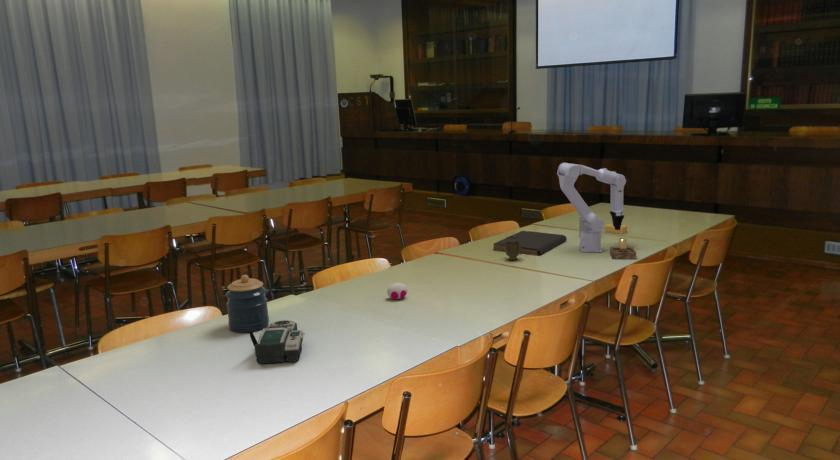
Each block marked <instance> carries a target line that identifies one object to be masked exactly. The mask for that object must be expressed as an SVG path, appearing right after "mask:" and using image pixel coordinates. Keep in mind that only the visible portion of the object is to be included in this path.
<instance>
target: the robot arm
mask: <svg viewBox="0 0 840 460" xmlns="http://www.w3.org/2000/svg"><path fill="white" fill-rule="evenodd" d="M556 174H557V177H558V179H559V181H558V182H559V187H560V189H561V192H563V194H564V195H565V196H566V197H567V199H568V201H569V202H570V203H571V205H572V206H573V208H574V209H575V211H576V212H577V214H578V215H579V216H580V217H581V218H580V217H579V220H580V219H581V221H582V225H583V227H584V228H585V231H583V232H580V237H579V251H580V252H583V253H587V252H588V253H602V252H603V250H602V247H601V244H602V243H601V242H602V239H601V238H602V231H603V230H604V229H605V223H604V220H603V219H602V218H599V216H598V215H597V214H596V213H594V212H593V211H592V210H591V209H590V207H589V206H588V204H587V202H585V201H584V199H583V197H582V196H581V194H580V193H579V192H578V190H577V189H576V188H575V182H577V180H578V177H579V176H582V175H588V176H590V177H595V179H596V181H598V182H601V183H604V184H608V185H610V206H609V207H610V208H609V213H610V216H611V220H612V224H613V226H614V227H615V230H620V228H621V225H622V222H623V220H624V217H625V215H623V214H622V213H623V212H624V211H626V210H627V209H626V208H625V207H624V189H625V185H626V183H627V179H626V177H625V175H624V174H621V173H617V172H616V171H614V170H612V171H611V170H608V168H605V167H603V168H600V169H594V168H592V167H589V166H587V165H584V164H576V163H568V162H561V163H560V164H559V166H558V169H557V172H556Z"/></svg>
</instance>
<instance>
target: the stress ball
mask: <svg viewBox="0 0 840 460" xmlns="http://www.w3.org/2000/svg"><path fill="white" fill-rule="evenodd" d="M386 293H387V296H388V297H389V298H391V299H393V300H401V299H403V298H404V297H406V295H407V294H408V288H407V286H406V285H405V284H404V283H402V282H394V283H392V284H390V285H389V286H388V287H387V291H386Z"/></svg>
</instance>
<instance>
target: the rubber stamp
mask: <svg viewBox="0 0 840 460" xmlns="http://www.w3.org/2000/svg"><path fill="white" fill-rule="evenodd" d="M603 230H604V231H603V232H604V233H608V234H609V233H610V234H615V235H616V234H617V235H625V234H627V233H628V225H625V224H624V225H623V224H621V228H620V230H615V227H614V226H613V223H607V224H604V228H603Z"/></svg>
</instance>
